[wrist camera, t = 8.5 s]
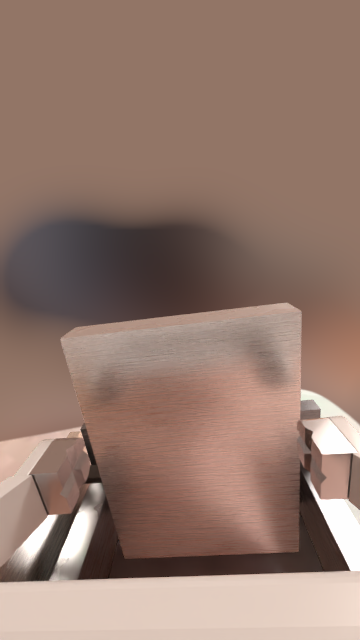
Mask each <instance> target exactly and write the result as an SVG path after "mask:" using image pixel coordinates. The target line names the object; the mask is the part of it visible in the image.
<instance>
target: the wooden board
mask: <svg viewBox="0 0 360 640" xmlns="http://www.w3.org/2000/svg"><path fill="white" fill-rule="evenodd" d="M60 340H61V344H62V347H63V350H64V354H65V357H66V361H67V364H68V367H69V371H70V374H71V378H72V381H73V385H74V388H75V391H76V395H77V398H78V402H79V405H80V408H81V412H82V415H83V418H84V422H85V425H86V429H87V432H88V436H89V439H90V442H91V446H92V449H93V453H94V456H95V459H96V463H97V465H90V469H89V475H88V477H87V480H86V482H85V483H84V484H92V483H103V487H104V490H105V494H106V497H107V500H108V504H109V507H110V511H111V514H112V517H113V521H114V524H115V528H116V531H117V534H118V538H119V541H120V545H121V548H122V552H123V555H124V558H125V559H134V558H158V557H183V556H207V555H232V554H256V553H281V552H299V495H300V458H299V455H298V450H297V438H298V437H299V436H300V434H299V432H298V431H297V422H298V420H300V398H301V311H300V310H299V309H297V308H295V307H294V306H292V305H290V304H288V303H280V304H271V305H264V306H255V307H246V308H237V309H230V310H220V311H211V312H204V313H195V314H187V315H178V316H169V317H161V318H152V319H144V320H135V321H126V322H118V323H109V324H101V325H93V326H84V327H76V328H74V329H73V330H72V331H70V332H69V333H67V334H66V335H65V336H63V337H62V338H60Z"/></svg>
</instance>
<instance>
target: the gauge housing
mask: <svg viewBox="0 0 360 640" xmlns="http://www.w3.org/2000/svg"><path fill="white" fill-rule="evenodd" d="M320 410H321V409H320V408H319V407H318V405H317V404H316V403H315V402H314V400H304V401H300V420H305V419H317V418H320ZM81 433H82V435H81ZM82 436H83V439H84V443H85V446H86V448H85V447H84V449H83V451H84V452H85V453H88V456H89V459H90V462H91V464H90V465H97V463H96V459H95V456H94V453H93V449H92V446H91V442H90V439H89V436H88V432H87V429H86V425H85V423H84V424H83V426H82V428H81V431H80V432H70V433H69V435H68V437H67V438H78V437H80V438H82ZM86 449H87V451H86ZM310 474H311V473H310V472H309V471H307V470H306V469H304V467H303V465H302V463H301V460H300V495H299V511H300V514H301V516H302V518H303V521H304V523H305V526H306V528H307V531H308V533H309V536H310V538H311V540H312V543H313V545H314V548H315V550H316V553H317V555H318V557H319V560H320V562H321V565H322V567H323V570H324V572H334V571H360V526H359V525H358V523H357V521H356V520H355V518H354V516H353V515H352V513H351V511H350V510H349V508H348V506H347V505H346V503H345V501H344V500H343V499H330V500H320V498H319V496H318V494H317V492H316V490H315V488H314V486H313V484H312V482H311V481H310ZM79 492H80V496H79V498H78V500H77V502H76V504H75V507H74V509H73V511H72V513H69V514H58V515H48V517H47V518H46V519H45V521H44V522H43V523H42V524H41V525H40V526H39V527H38V528H37V529H36V530H35V531H34V532H33V533H32V534H31V535H30V536H29V537H28V539H27V540H26V541H25V542H24V543H23V544H22V545H21V546H20V547H19V548H18V549H17V550H16V551H15V552H14V553H13V554H12V556H11V557H10V558H9V559H8V560H7V561H6V562H5V563H4V564H3V565H2V566H1V567H0V582H28V581H60V580H91V579H108V577H109V573H110V569H111V565H112V561H113V557H114V553H115V549H116V545H117V541H118V534H117V531H116V528H115V524H114V521H113V517H112V514H111V511H110V507H109V504H108V500H107V497H106V494H105V490H104V487H103V483H92V484H83V485H82V486H81V487H80V488H79Z"/></svg>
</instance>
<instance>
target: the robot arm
mask: <svg viewBox="0 0 360 640" xmlns="http://www.w3.org/2000/svg"><path fill="white" fill-rule="evenodd" d="M297 431H298V432H299V434H300V436H299V437H298V438H297V450H298V455H299V458H300V460H301V463H302V465H303V467H304V469H306V470H307V471H309V472H310V473H311V474H310V481H311V482H312V484H313V486H314V488H315V490H316V492H317V494H318V496H319V498H320V500H330V499H349V501H350V502H351V503H352V504H353V505H355V506H356V507H357V508H358V509H359V510H360V434H359V433H358V432H357V430H356V429H355V428H354V427H353V426H352V425H351V424H350V423H349V422H348V421H347V419H346V418H345V417H343V416H335V417H327V418H317V419H305V420H298V422H297ZM84 447H85V443H84V440H83V438H80V437H78V438H59V439H45V440H42V441H41V442H40V443H39V444H38V445H37V446H36V448H35V449H34V450H33V452H32V453H31V454H30V455H29V457H28V458H27V459H26V461H25V462H24V463H23V464H22V466H21V467H20V468H19V470H18V471H17V472H16V474H15V475H14V476H11V477H8V478H7V479H5V480H4V481H2V482H1V483H0V567H1V566H2V565H3V564H4V563H5V562H6V561H7V560H8V559H9V558H10V557H11V556H12V554H13V553H14V552H15V551H16V550H17V549H18V548H19V547H20V546H21V545H22V544H23V543H24V542H25V541H26V540H27V539H28V537H29V536H30V535H31V534H32V533H33V532H34V531H35V530H36V529H37V528H38V527H39V526H40V525H41V524H42V523H43V522H44V521H45V519H46V518H47V517H48V515H58V514H69V513H72V511H73V509H74V507H75V504H76V502H77V500H78V498H79V496H80V492H79V488H80V487H81V486H82V485H83V484H84V483H85V482H86V480H87V477H88V475H89V469H90V460H89V456H88V454H87V453H85V452H84V451H83V449H84ZM0 640H360V571H334V572H304V573H274V574H244V575H215V576H184V577H153V578H122V579H91V580H60V581H28V582H0Z"/></svg>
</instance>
